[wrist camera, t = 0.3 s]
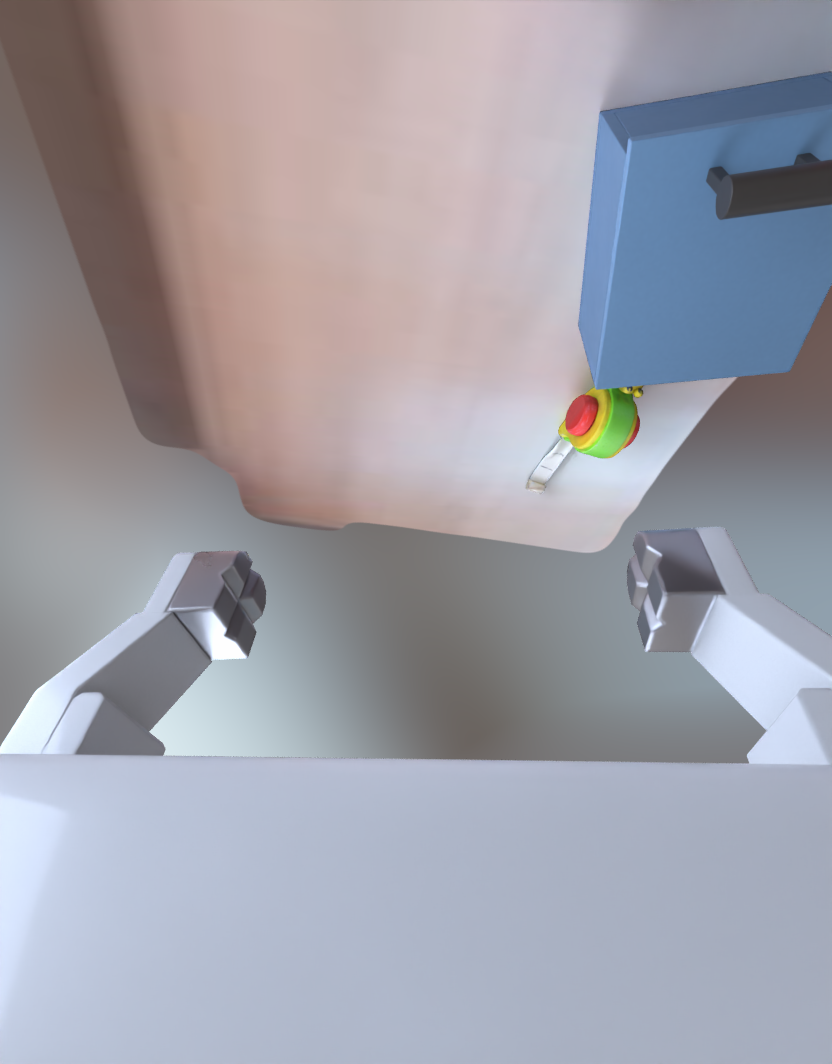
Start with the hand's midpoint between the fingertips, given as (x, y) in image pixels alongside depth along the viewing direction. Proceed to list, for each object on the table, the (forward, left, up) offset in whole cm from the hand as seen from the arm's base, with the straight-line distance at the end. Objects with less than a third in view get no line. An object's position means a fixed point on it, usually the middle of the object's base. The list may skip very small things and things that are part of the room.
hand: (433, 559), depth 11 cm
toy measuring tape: (+30, +11, -38) cm, 50 cm away
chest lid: (+10, +17, -29) cm, 35 cm away
